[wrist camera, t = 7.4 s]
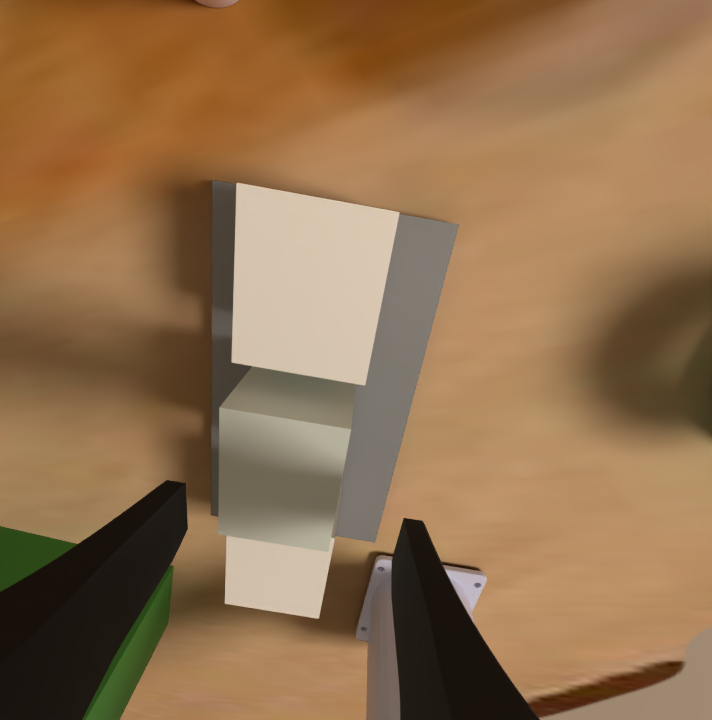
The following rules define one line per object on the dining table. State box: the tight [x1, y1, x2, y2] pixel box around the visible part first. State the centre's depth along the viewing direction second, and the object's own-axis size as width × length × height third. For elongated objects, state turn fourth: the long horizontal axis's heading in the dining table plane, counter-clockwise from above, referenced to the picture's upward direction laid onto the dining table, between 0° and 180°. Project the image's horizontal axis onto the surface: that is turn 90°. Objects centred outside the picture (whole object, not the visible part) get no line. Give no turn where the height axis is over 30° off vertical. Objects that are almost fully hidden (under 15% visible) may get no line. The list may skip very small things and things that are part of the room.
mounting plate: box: [211, 180, 459, 619], centre depth 17 cm, size 20×11×6 cm, turn 171°
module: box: [218, 366, 356, 552], centre depth 16 cm, size 6×5×6 cm
